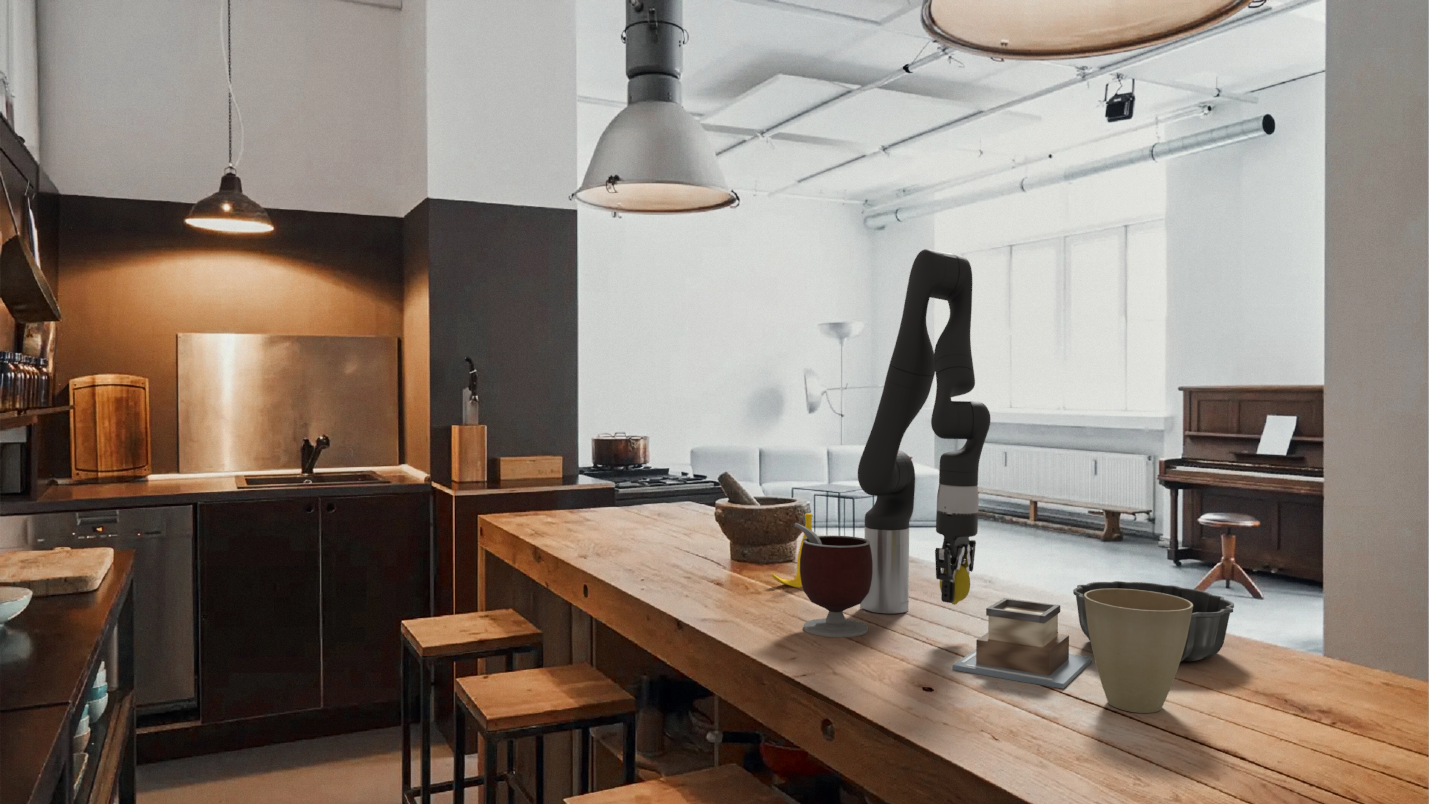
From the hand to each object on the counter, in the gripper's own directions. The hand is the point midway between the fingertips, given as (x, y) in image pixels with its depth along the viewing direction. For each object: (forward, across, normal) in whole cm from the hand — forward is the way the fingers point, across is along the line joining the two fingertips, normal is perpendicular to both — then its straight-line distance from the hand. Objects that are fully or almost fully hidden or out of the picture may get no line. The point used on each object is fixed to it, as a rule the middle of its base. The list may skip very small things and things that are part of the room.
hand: (954, 598), depth 186 cm
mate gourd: (+8, +7, -22) cm, 24 cm away
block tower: (+7, +10, +16) cm, 20 cm away
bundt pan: (+7, -14, +32) cm, 35 cm away
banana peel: (+9, -25, -48) cm, 55 cm away
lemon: (+1, 0, 0) cm, 1 cm away
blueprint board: (+7, +10, +16) cm, 20 cm away
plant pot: (+7, +20, +37) cm, 43 cm away
